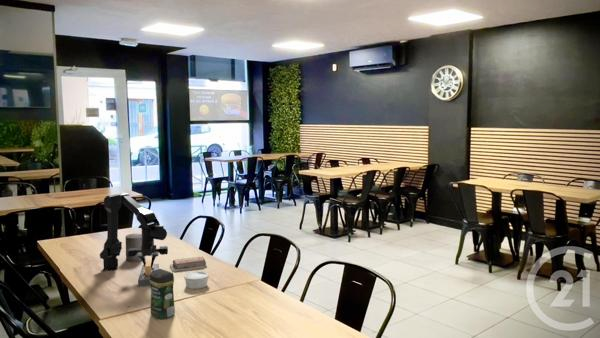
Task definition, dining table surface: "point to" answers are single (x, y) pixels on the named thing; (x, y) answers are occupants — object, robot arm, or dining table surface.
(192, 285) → the ramekin
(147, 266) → the long orange beam
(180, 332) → the dining table surface
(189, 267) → the packaged product
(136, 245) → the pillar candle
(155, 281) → the coffee jar
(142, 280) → the grey slotted plate
